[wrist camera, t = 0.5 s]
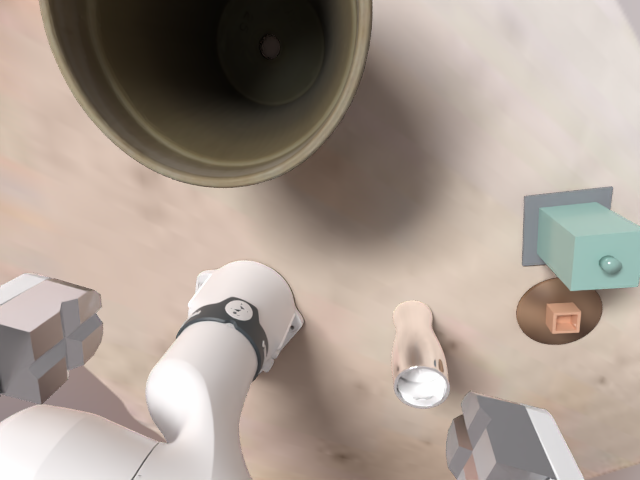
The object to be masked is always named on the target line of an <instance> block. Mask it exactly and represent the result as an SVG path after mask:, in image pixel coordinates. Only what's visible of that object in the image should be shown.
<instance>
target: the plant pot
mask: <svg viewBox="0 0 640 480" xmlns="http://www.w3.org/2000/svg"><path fill="white" fill-rule="evenodd" d="M39 4H40V10H41V15H42V19H43V24H44V28H45V32H46V35H47V38H48V42H49V45H50V47H51V50H52V53H53V55H54V57H55V60H56V62H57V64H58V67H59V69H60V71H61V74H62V75H63V77H64V79H65V81H66V83H67V85H68V86H69V88H70V90H71V92H72V93H73V95H74V97H75V98H76V100H77V102H78V103H79V104H80V106H81V107H82V108H83V110H84V111H85V112H86V114H87V115H88V116H89V118H90V119H91V120H92V121H93V122H94V123H95V125H96V126H97V127H98V128H99V129H100V130H101V131H102V132H103V133H104V134H105V135H106V136H107V137H108V138H109V139H110V140H111V141H112V142H113V143H114V144H115V145H116V146H117V147H119V148H120V149H121V150H122V151H124V152H125V153H126V154H127V155H129V156H130V157H132V158H133V159H134V160H136V161H137V162H139V163H141V164H142V165H144V166H146V167H147V168H149V169H151V170H153V171H155V172H157V173H159V174H161V175H163V176H166V177H169V178H171V179H174V180H177V181H180V182H184V183H188V184H192V185H197V186H204V187H214V188H233V187H243V186H249V185H254V184H259V183H262V182H265V181H269V180H272V179H274V178H276V177H279V176H281V175H283V174H285V173H287V172H289V171H291V170H292V169H294V168H295V167H297V166H298V165H300V164H301V163H303V162H304V161H305V160H307V159H308V158H309V157H310V156H311V155H312V154H314V153H315V152H316V151H317V150H318V149H319V148H320V147H321V146H322V145H323V144H324V142H325V141H326V140H327V139H328V138H329V137H330V135H331V134H332V133H333V132H334V130H335V129H336V128H337V126H338V125H339V123H340V122H341V120H342V119H343V117H344V115H345V113H346V112H347V110H348V108H349V106H350V104H351V103H352V100H353V98H354V96H355V93H356V91H357V89H358V86H359V83H360V80H361V78H362V74H363V71H364V68H365V63H366V59H367V54H368V50H369V45H370V37H371V29H372V0H39ZM268 34H271V35H274V36H276V37H277V38H278V40H279V42H280V47H281V48H280V52H279V54H278V56H277V57H276V58H274V59H266V58H265V57H264V56H263V55H262V54H261V51H260V41H261V40H262V38H263V37H264V36H265V35H268Z"/></svg>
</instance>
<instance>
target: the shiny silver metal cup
mask: <svg viewBox="0 0 640 480" xmlns="http://www.w3.org/2000/svg"><path fill="white" fill-rule="evenodd" d="M432 322H433V315H432V312H431V310H430V308H429V307H428V306H427V305H426V304H424V303H422V302H420V301H416V300H409V301H405V302H402V303H401V304H399V305H398V306H397V307H396V308H395V310H394V312H393V323H394V326H395V328H396V334H395V338H394V343H393V347H392V354H391V369H392V377H393V384H394V391H395V394H396V396H397V397H398V398H399V399H400V400H401V401H402V402H403V403H405V404H406V405H408V406H411V407H414V408H420V409H426V408H432V407H435V406H438V405H439V404H441V403H442V402H444V401H445V400H446V398H447V397H448V395H449V392H450V384H449V377H448V369H447V363H446V359H445V355H444V352H443V349H442V347H441V345H440V343H439V341H438V339H437V337H436V335H435V333H434V331H433V328H432Z"/></svg>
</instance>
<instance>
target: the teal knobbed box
mask: <svg viewBox="0 0 640 480" xmlns="http://www.w3.org/2000/svg"><path fill="white" fill-rule="evenodd" d="M537 254H538V255H539V257H540V258H541V259H542V260H543V261H544V262H545V263H546V264H547V265H548V267H549V268H550V269H551V270H552V271H553V272H554V273H555V274H556V275H557V277H558V278H559V279H560V280H561V281H562V282H563V283H564V284H565V285H566V286H567V288H568V289H569V290H570V291H579V290H595V289H611V288H627V287H638V284H639V278H640V226H638V225H636V224H635V223H633V222H631V221H629V220H627V219H626V218H624V217H622V216H620V215H618V214H617V213H615V212H613V211H611V210H610V209H608V208H606V207H604V206H602V205H601V204H599V203H597V202H591V203H582V204H572V205H562V206H553V207H543V208H539V221H538V242H537Z"/></svg>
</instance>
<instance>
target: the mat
mask: <svg viewBox="0 0 640 480" xmlns="http://www.w3.org/2000/svg"><path fill="white" fill-rule="evenodd" d="M612 190H613V187H602V188H593V189H584V190H575V191H566V192H557V193H548V194H539V195H530V196H524V221H523V251H522V265H523V266H528V265H541V264H546V263H545V262H544V261H543V260H542V259H541V258H540V257H539V255H538V254H537V242H538V221H539V208H543V207H553V206H562V205H572V204H582V203H591V202H597V203H599V204H601V205H602V206H604V207H606V208H608V209H610V207H611V199H612Z"/></svg>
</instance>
